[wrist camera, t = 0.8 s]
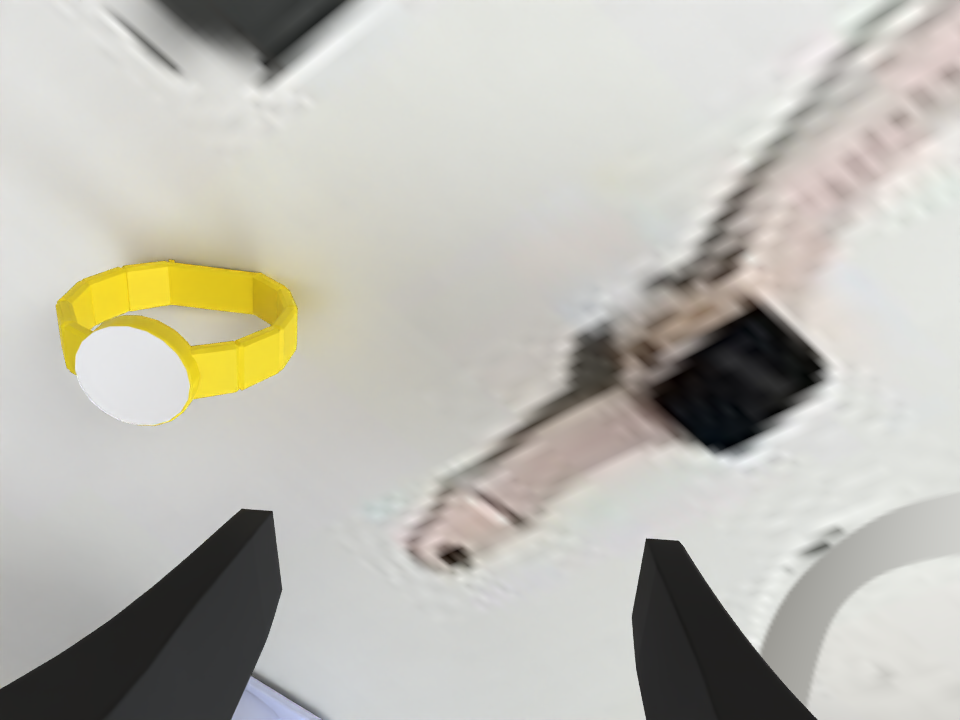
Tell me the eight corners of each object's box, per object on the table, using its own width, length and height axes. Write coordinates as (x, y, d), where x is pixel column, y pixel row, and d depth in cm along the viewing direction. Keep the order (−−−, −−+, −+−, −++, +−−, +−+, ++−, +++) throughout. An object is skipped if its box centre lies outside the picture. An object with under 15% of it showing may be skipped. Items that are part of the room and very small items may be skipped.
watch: (130, 311, 23) (8, 407, 18) (122, 228, 22) (-11, 304, 16) (315, 341, 23) (250, 445, 18) (318, 259, 22) (248, 346, 16)
